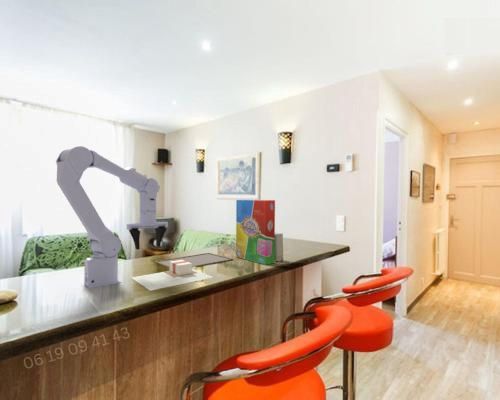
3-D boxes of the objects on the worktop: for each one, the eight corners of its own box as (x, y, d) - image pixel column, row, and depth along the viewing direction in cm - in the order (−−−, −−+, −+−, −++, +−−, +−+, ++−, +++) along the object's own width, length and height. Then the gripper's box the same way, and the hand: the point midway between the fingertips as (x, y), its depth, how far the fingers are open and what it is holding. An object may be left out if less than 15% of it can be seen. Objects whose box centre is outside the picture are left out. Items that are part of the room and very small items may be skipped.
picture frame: (208, 254, 141) (154, 263, 122) (208, 252, 141) (154, 261, 122) (232, 261, 126) (175, 272, 108) (232, 258, 126) (175, 269, 108)
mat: (150, 291, 83) (150, 290, 83) (130, 278, 97) (130, 277, 97) (213, 278, 97) (213, 276, 97) (188, 268, 111) (188, 267, 111)
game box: (235, 257, 133) (235, 199, 133) (244, 255, 136) (244, 199, 136) (266, 265, 117) (266, 199, 117) (275, 263, 120) (275, 199, 120)
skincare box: (283, 260, 125) (283, 233, 125) (276, 262, 123) (276, 234, 123) (273, 258, 130) (273, 232, 130) (266, 259, 127) (266, 232, 127)
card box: (169, 271, 105) (169, 261, 105) (182, 269, 108) (182, 259, 108) (178, 275, 99) (178, 265, 99) (191, 273, 102) (191, 263, 102)
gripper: (131, 212, 96) (131, 251, 96) (171, 210, 105) (171, 247, 105) (124, 211, 101) (124, 249, 101) (163, 210, 111) (163, 244, 111)
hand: (148, 247), depth 104 cm, fingers open, 7 cm apart
